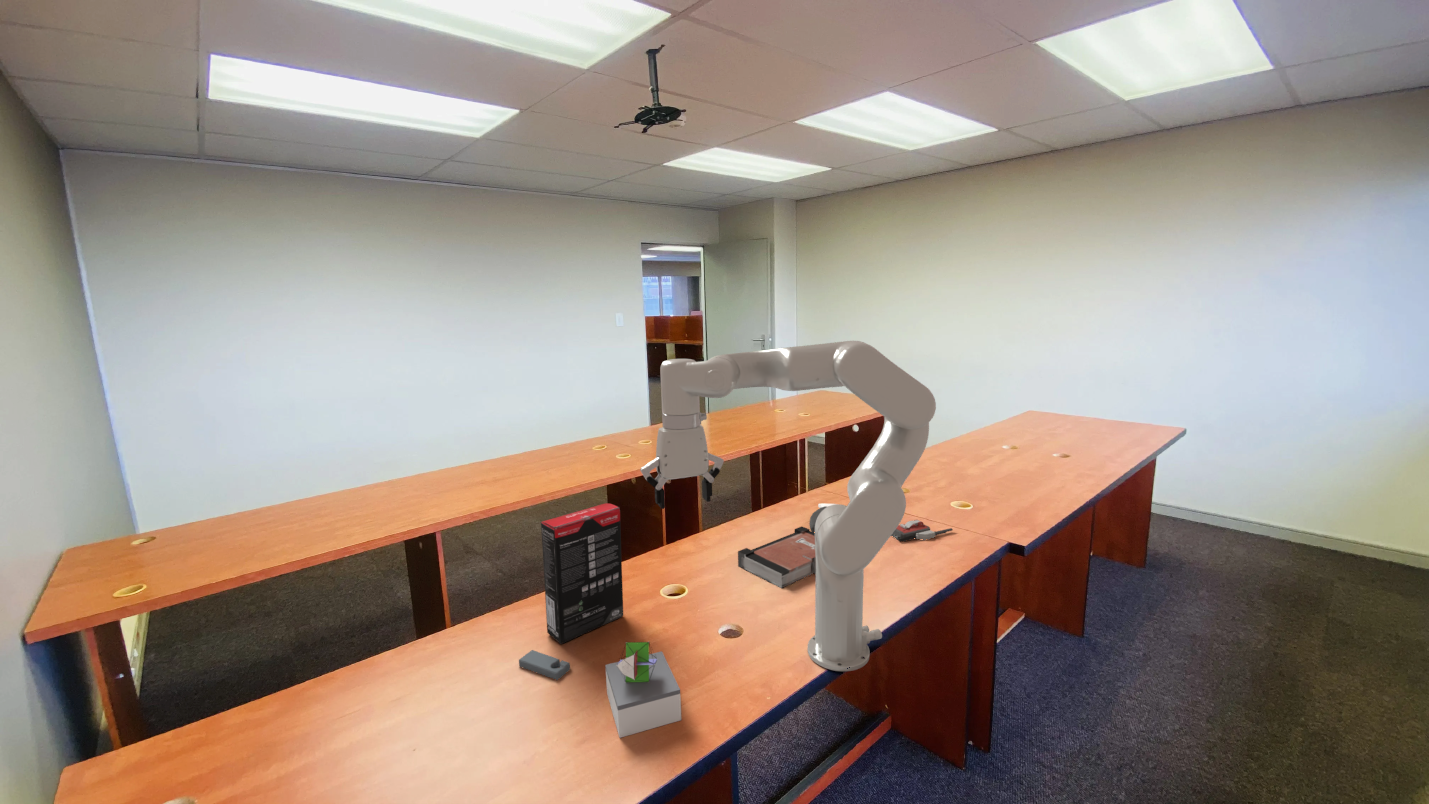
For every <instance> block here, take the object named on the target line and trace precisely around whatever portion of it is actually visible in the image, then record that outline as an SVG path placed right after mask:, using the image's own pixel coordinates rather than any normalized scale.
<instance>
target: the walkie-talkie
mask: <svg viewBox="0 0 1429 804" xmlns="http://www.w3.org/2000/svg"><path fill="white" fill-rule="evenodd" d="M952 531H954V530H953V528H947V529H942V530H937V531H933V530H931V527H930V526H928V525H926V524H924V522H923V521H920V520H918V519H914V520H909V521H907V522H905V523H900V524H899V525H898V527H897V528H896V529H895V531H894V532H893V533H892V535H891V536H893V537H895V538H896V539H895V538H894V539H895V540H897V541H899V542H901V541H904V542H907V541H906V540H909V541H911V540H910V539H914V538H915V539H914V540H916V539H923V540H922V541H926V539H928V540H931V539H930V538H934V537H935V538H936V536H939V535H942V534H946V533H947V532H952ZM891 536H890V537H891ZM893 537H892V538H893ZM935 538H934V539H935Z"/></svg>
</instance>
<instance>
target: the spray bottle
mask: <svg viewBox="0 0 1429 804" xmlns="http://www.w3.org/2000/svg"><path fill="white" fill-rule="evenodd" d="M835 504H836V503H824V502H823V503H818V509H816V510H815V511H814V512H813V513H812V514H811V515H810V518H809V523H808V524H809V530H810V531H811V532H815V523H816V520H817V517H818V516H819V514H820V513H821V512H822V511H823V510H824V509H825V508H826V507H828V506H831V505H835Z"/></svg>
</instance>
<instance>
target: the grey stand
mask: <svg viewBox="0 0 1429 804" xmlns="http://www.w3.org/2000/svg"><path fill="white" fill-rule="evenodd" d="M654 653H655V654H654ZM655 655H656V656H655ZM652 656H653V658H652ZM654 656H655V657H657V661H656V664H655V665H654V666H655V667H654V666H653V665H649V668H650V667H651V668H650V669H649V679H650V680H649V682H626V683H625V680H626V676H625V677H624V675H623V674H622V672H621V671H620V669H619V668H618V667H617V666H616V665H617V663H619V661H615V662H611V663H608V664H605V665H604V666H605V677H606V678H605V682H606V694H607V695H606V696H607V698H608V701H609V705H610V708H611V713H612V716H613V719H614V724H615V726H616V730H617V734H618V737H619V738H623V737H627V736H631V735H635V734H638V733H641V732H645V731H648V730H652V729H656V728H659V727H662V726H666V725H668V724H673V723H676V722H679V721H682V701H681V699H682V698H681V689H680V687H679V684H678V682H677V680H676V677H675V675H674V674H673V672H672V669H671V668H670V665H669V663H668V661H667V659H666V657H665V654H664V652H663V651H658V652H653V653H652V655H651V654H650V653H649V659H656V658H655V657H654ZM653 667H654V668H653ZM652 670H653V672H652ZM651 673H652V675H651ZM621 674H622V675H621ZM650 676H651V678H650Z"/></svg>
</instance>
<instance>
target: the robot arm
mask: <svg viewBox="0 0 1429 804" xmlns="http://www.w3.org/2000/svg"><path fill="white" fill-rule="evenodd" d="M659 369H660V372H659V373H660V390H661V391H660V392H661V393H660V394H661V397H660V398H661V418H662V427H658V431H657V437H656V450H655V452H656V453H655V458H654V459H653V460H651V461H648V462H647V464H645V465H643V466H642V467H640V469H639V470H640V472H641V474H642V476H643V478H644V479H645V480H646V482H647V483H648V484H650V486H652V487H653V488H654V502H655V504H656V505H658V507H660V509H661V510H663V509H665V508H666V499H665V495H666V494H665V489H664V486H665V484H667V481H668V480H677V479H685V478H690V477H691V478H693V477H701V476H702V477H703V478H702V480H701V496H702V498H703V499H704V501H706V502H707V503H710V502H711V497H712V496H713V483H714V481H715V478H716V477H718V475H719V474H720V471H721V469H722V467H723V465H724V461H725V460H724V459H723V458H722V457H720V456H717V455H715V454H712V453H710V452H708V451H709V450H708V449H709V448H708V444H707V438H706V432H705V429H704V426H703V425H702V421H706V420H708V419H707V418H708V416H707V413H705V412H704V413H702V412H701V408H700V407H701V405H700V403H701V402H700V397H703V398H708V399H722V398H724V397H725V398H726V397H727V396H729V395H730V394H731V393H732V392H733V391H734V390H738V389H748V388H774V389H778V390H781V391H787V392H798V391H807V390H808V391H809V390H818V389H827V388H837V387H838V388H839V387H841V388H842V387H845V388H846V389H848V390H849V391H850V392H851V393H852V394H854V395H855V396H856V397H858V398H859V399H860V400H861V401H862V402H863V403H864V404H866V405H868V406H869V407H870V408H872V409H873V410H875V411H876V412H878V414H880V415H881V416H883V419H884V423H883V426H882V430H881V433H880V434H879V436H878V437H877V440H876V441H875V443H874V445H873V446H872V448H871V449H870V450H869V452H868V453H867V455H866V456H865V457H864V459H863V460H862V461H861V463H860V464H859V466H858V467H857V468H856V470H855V471H854V472H853V473H852V474H851V476H850V478H849V479H848V482H847V486H846V488H847V489H846V490H847V494H848V498H849V502H848V504H847V505H844V504H840V503H839V504H838V503H834V504H835V505H831V506H828V507H826V508H825V509H824V510H823V511H822V512H821V513H820V514H819V516H818V517H817V520H816V523H815V557H816V574H815V585H814V586H815V600H814V601H815V603H814V605H815V606H814V607H815V609H814V610H815V612H814V613H815V614H814V615H815V617H814V619H815V622H814V624H815V625H814V626H815V627H814V635H813V636H812V637H811V638H810V639H809V640H808V643H807V654H808V656H809V658H810V659H811V661H813V662H814V663H815V664H817V665H818V666H820V667H822V668H824V669H828V670H830V671H835V672H851V671H857V670H858V669H861V668H863V667H864V666H865V665H866V664H868V662H869V660H870V654H871V653H870V648H869V646H868V644H870V642H871V641H872V642H873V641H877V640H880V639H882V638H883V634H882V633H883V632H882V631H881V630H880V629H879V628H876V629H871V630H870V628H869V626H868V625H864V626H863V621H864V620H863V618H864V617H863V613H864V612H863V611H864V607H863V606H864V581H865V580H864V573H865V572H864V569H866V567H867V566H868V565H870V563H871V562H872V561H873V559H874V558H875V557H876V556H877V554H879V552H880V551H881V549H882V548H883V547H884V545H885V544H886V543H887V541H888V540H889V539H890V537H891V535H892V533H893V532H894V531H895V529H896V528H897V527H898V525H900V524H901V522H902V520H903V518H904V516H905V512H906V507H907V498H906V495H905V492H904V490H903V488H902V486H903V485H904V484H905V482H906V480H907V479H908V478H909V476H910V475H911V473H912V472H913V470H914V468H915V467H916V465H917V464H918V462H919V461H920V460H921V458H922V456H923V454H924V452H925V449H926V447H927V444H928V441H929V440H928V439H929V432H930V422H931V421H932V419H933V418H934V416H935V413H936V409H937V402H936V399H935V396H934V394H933V392H932V391H931V390H930V389H929V387H927V386H926V385H925V384H923V383H921V381H919V380H917V379H916V378H915V377H913V376H912V375H911V374H909V373H908V372H907V371H905V370H904V369H902V367H899V366H898V365H897V364H895V363H894V362H893V361H891V360H890V359H889V358H888V357H886V356H885V355H884V354H883V353H881V352H880V351H879V350H878V349H876V348H875V347H873V346H872V345H870V344H868V343H866V342H864V341H860V340H844V341H837V342H835V341H834V342H826V343H816V344H807V345H806V344H805V345H799V346H798V345H797V346H788V347H779V348H773V349H766V350H764V349H763V350H754V351H743V352H742V351H741V352H734V353H723V354H718V355H715V356H712V357H710V358H709V359H707V360H703V361H696V360H695V359H691V358H672V359H667V360H664V361H662V363H661V365H660V368H659ZM710 461H711V462H713V463H714V464H713V466H712V467H711V468H709V467H710V465H709V462H710ZM654 469H656V472H657V476H656V477H655V478H654V477H653V476H652V475H651V472H652V471H653V470H654ZM709 469H710V470H709ZM863 657H864V658H863ZM849 667H850V668H849ZM847 668H848V669H847Z"/></svg>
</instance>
